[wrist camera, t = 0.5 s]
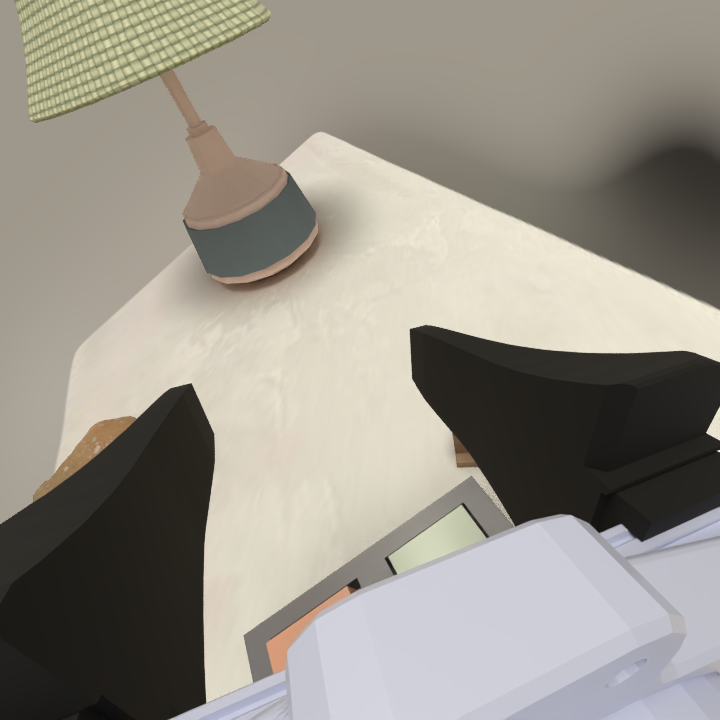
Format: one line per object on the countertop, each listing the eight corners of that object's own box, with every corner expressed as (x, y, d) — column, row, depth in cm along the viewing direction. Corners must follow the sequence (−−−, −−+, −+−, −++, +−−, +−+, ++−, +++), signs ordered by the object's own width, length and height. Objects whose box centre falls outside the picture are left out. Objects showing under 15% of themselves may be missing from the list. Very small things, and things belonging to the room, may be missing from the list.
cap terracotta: (404, 695, 17) (395, 702, 16) (318, 761, 17) (298, 778, 15) (358, 590, 21) (346, 585, 19) (285, 642, 20) (266, 643, 18)
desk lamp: (384, 226, 50) (225, -443, 19) (225, 345, 43) (-449, -414, 12) (296, 195, 66) (131, -196, 35) (170, 278, 59) (-181, -121, 28)
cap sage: (526, 601, 18) (531, 598, 16) (448, 661, 18) (445, 664, 16) (463, 515, 22) (461, 504, 20) (396, 563, 21) (388, 556, 19)
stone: (139, 417, 39) (117, 403, 37) (182, 514, 30) (156, 503, 28) (50, 488, 36) (19, 477, 34) (65, 620, 27) (25, 618, 25)
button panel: (568, 609, 19) (579, 606, 17) (311, 813, 17) (285, 839, 15) (472, 490, 24) (471, 476, 22) (267, 635, 22) (243, 635, 20)
